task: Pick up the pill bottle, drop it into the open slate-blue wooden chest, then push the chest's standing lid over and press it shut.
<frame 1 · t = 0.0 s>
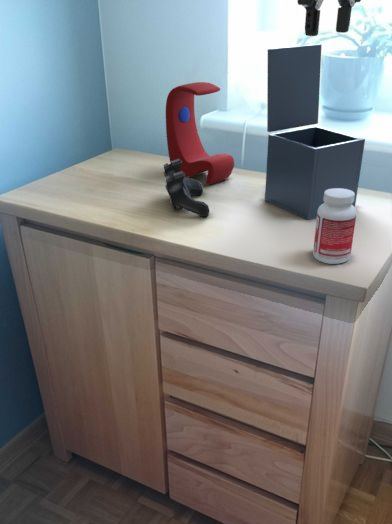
hand: (327, 34, 96), 31 cm above the table, tool pointing down, fingers open, 8 cm apart
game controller: (186, 206, 116), on the table
chest lid: (294, 88, 109), point 21 cm above the table, hinge at 95.0°
chest: (309, 203, 115), on the table
pill bottle: (330, 258, 94), on the table
chair: (200, 178, 131), on the table
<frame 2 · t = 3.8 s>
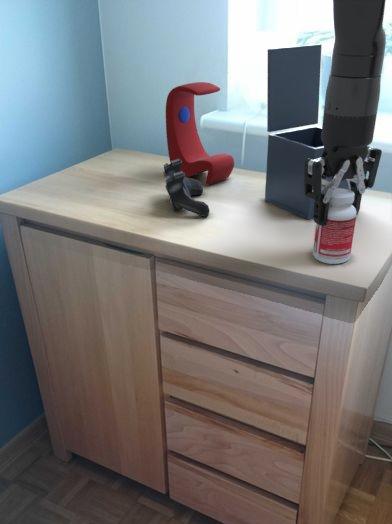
hand: (335, 219, 90), 7 cm above the table, tool pointing down, fingers closed on pill bottle, 6 cm apart
pill bottle: (330, 258, 94), on the table, touching gripper
everything else where it was.
when the fingers open (11 cm above the table, at t = 12.8 s): pill bottle stays where it is, resting on chest.
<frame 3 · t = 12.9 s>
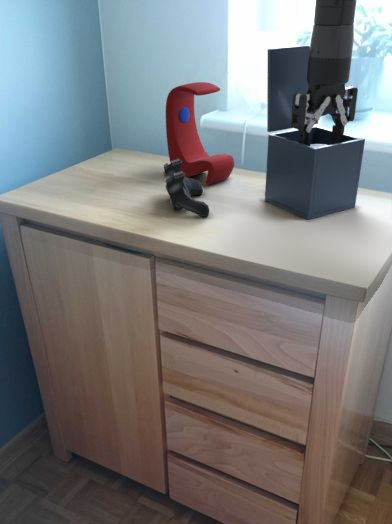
hand: (320, 148, 108), 11 cm above the table, tool pointing down, fingers open, 7 cm apart
pill bottle: (312, 203, 114), point 1 cm above the table, touching chest
everything else where it was.
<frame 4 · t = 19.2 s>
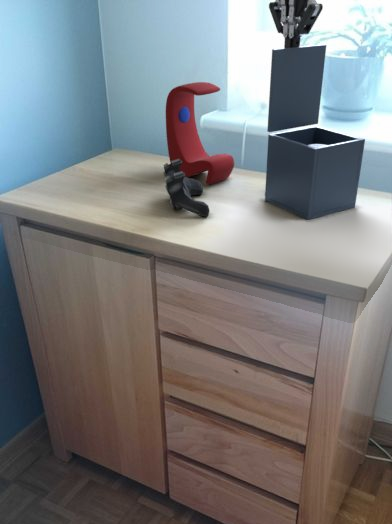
hand: (291, 59, 107), 26 cm above the table, tool pointing down, fingers closed
chest lid: (296, 88, 108), point 21 cm above the table, hinge at 89.6°, touching gripper
everything else where it was.
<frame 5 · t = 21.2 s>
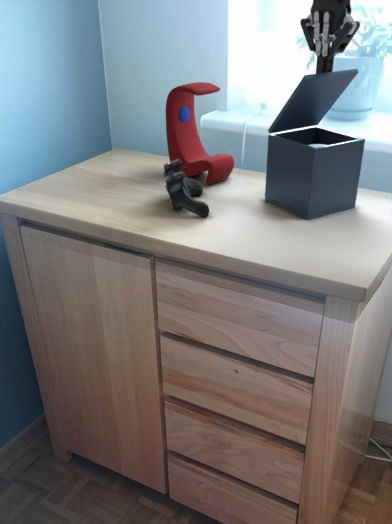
hand: (323, 79, 102), 23 cm above the table, tool pointing down, fingers closed
chest lid: (311, 102, 106), point 19 cm above the table, hinge at 49.2°, touching gripper
everything else where it was.
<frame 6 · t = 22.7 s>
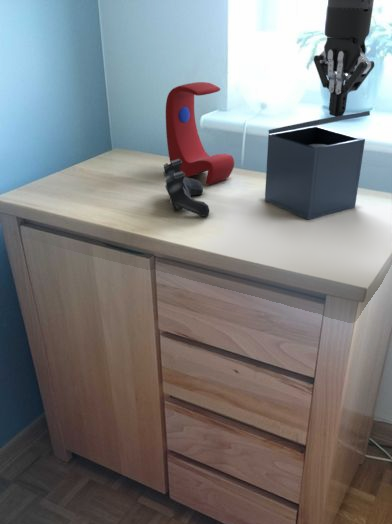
hand: (336, 115, 102), 18 cm above the table, tool pointing down, fingers closed
chest lid: (317, 122, 106), point 16 cm above the table, hinge at 17.1°, touching gripper
everything else where it was.
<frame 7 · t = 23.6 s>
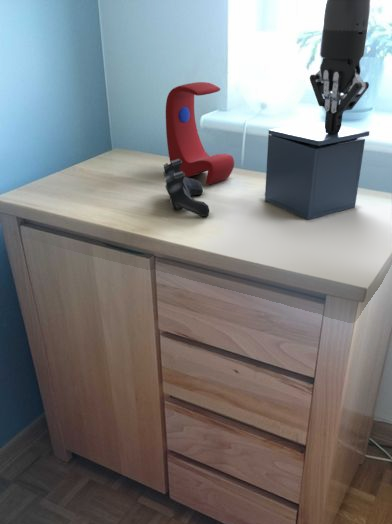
hand: (332, 133, 104), 15 cm above the table, tool pointing down, fingers closed
chest lid: (317, 132, 107), point 14 cm above the table, hinge at 2.8°
everything else where it was.
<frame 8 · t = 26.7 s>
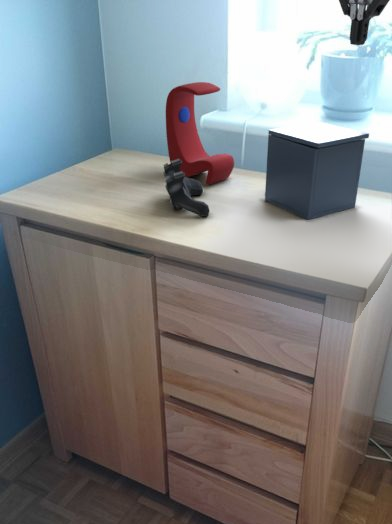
hand: (357, 44, 99), 29 cm above the table, tool pointing down, fingers closed
chest lid: (317, 133, 107), point 14 cm above the table, hinge at 1.3°
everything else where it was.
at the end: pill bottle inside the target area in the chest (1.7 cm from its centre), point 0.6 cm above the chest's base; chest lid at +1° (first picture: +95°) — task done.
